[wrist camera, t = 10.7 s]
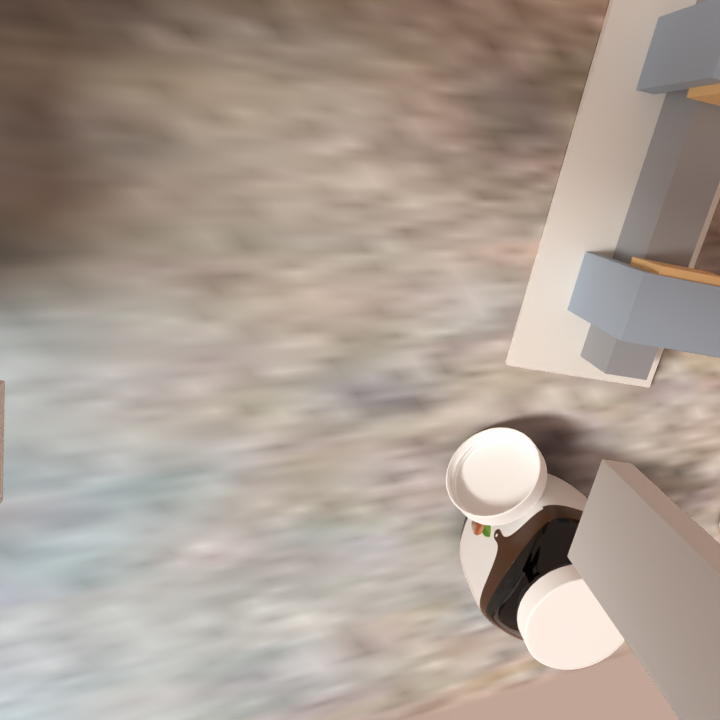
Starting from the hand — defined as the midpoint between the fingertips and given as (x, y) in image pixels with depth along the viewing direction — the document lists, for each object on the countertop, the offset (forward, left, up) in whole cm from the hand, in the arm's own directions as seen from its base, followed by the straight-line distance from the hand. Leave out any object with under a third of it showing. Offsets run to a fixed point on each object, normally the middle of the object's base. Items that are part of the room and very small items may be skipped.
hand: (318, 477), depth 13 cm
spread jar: (+18, -15, -27) cm, 36 cm away
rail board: (+21, +9, -27) cm, 35 cm away
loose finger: (+22, +2, -26) cm, 34 cm away
